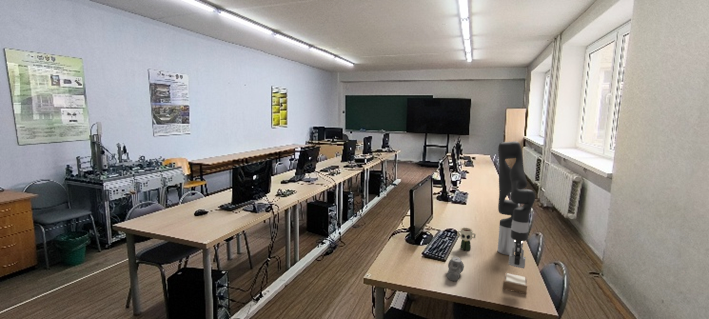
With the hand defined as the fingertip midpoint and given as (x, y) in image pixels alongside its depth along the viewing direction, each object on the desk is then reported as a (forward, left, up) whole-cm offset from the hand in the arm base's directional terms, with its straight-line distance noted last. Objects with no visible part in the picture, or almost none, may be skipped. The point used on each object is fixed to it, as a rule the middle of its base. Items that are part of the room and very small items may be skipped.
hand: (516, 262), depth 162 cm
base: (0, 0, -13) cm, 13 cm away
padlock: (0, 0, -2) cm, 2 cm away
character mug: (-36, -29, -13) cm, 48 cm away
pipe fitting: (+4, -29, -13) cm, 32 cm away
